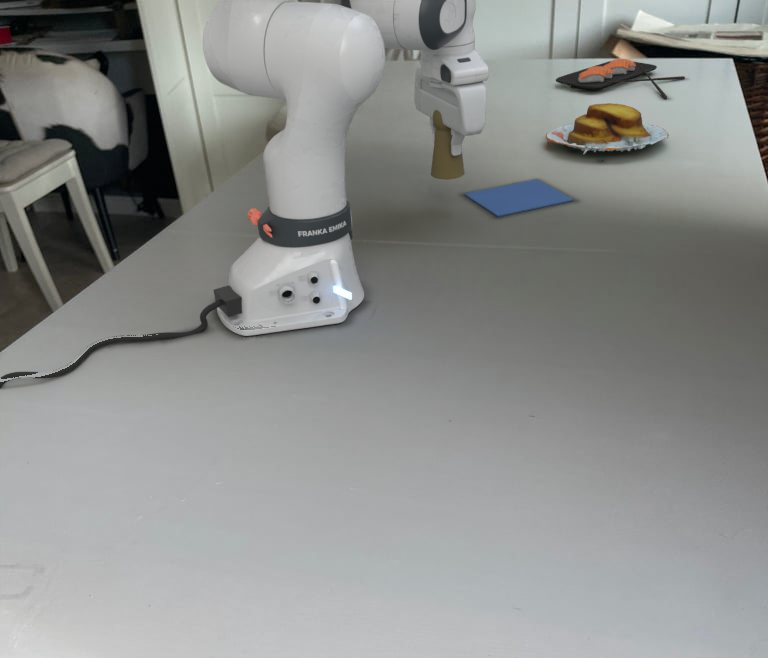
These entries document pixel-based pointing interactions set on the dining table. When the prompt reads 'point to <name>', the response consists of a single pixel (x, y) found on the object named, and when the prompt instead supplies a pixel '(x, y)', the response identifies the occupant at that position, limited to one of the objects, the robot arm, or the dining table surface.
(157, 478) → the dining table surface
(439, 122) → the brown peg doll
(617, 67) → the sushi plate
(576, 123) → the food on plate
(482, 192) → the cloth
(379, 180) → the dining table surface
